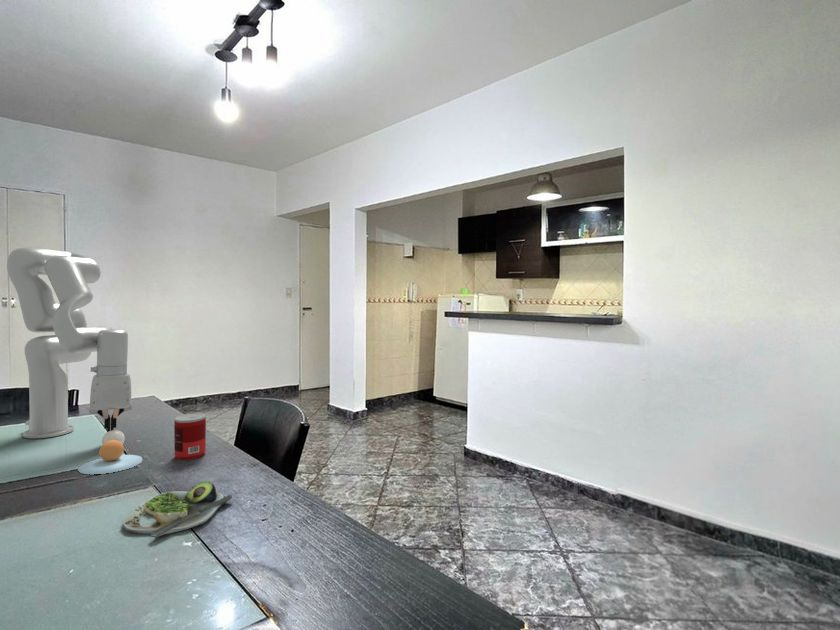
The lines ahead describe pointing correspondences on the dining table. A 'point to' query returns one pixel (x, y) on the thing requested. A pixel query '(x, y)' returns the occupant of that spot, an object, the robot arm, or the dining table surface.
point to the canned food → (190, 436)
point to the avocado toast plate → (177, 510)
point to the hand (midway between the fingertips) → (110, 430)
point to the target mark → (110, 465)
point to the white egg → (113, 436)
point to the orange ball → (111, 450)
